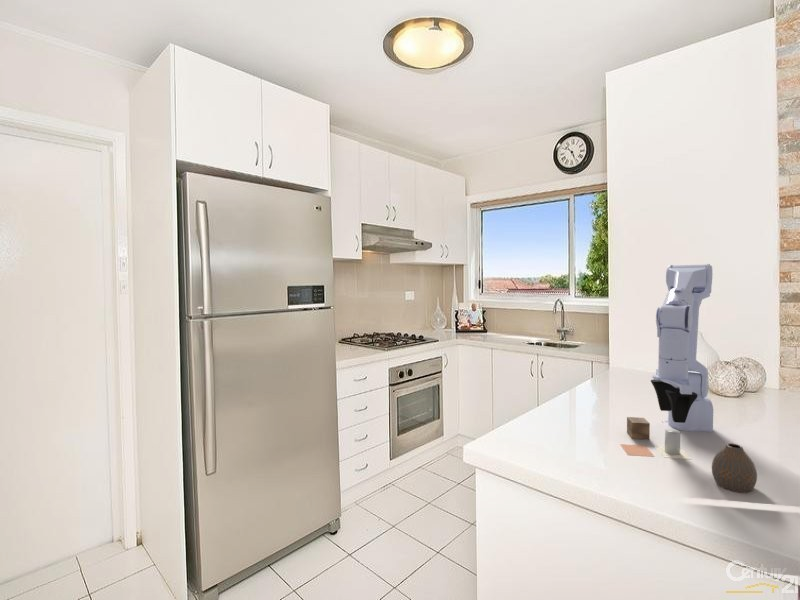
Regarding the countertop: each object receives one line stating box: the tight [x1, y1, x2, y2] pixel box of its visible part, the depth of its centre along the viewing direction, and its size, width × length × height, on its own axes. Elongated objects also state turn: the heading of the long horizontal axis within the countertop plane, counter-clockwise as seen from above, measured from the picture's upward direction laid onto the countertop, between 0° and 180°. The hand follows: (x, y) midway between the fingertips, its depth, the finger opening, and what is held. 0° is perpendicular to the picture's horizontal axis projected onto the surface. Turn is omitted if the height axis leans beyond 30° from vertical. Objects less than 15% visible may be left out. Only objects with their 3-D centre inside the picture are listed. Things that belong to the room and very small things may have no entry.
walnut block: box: [626, 416, 651, 440], centre depth 106 cm, size 4×4×5 cm
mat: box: [619, 443, 692, 460], centre depth 98 cm, size 13×8×1 cm, turn 77°
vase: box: [711, 443, 758, 494], centre depth 82 cm, size 7×7×9 cm
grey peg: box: [664, 428, 682, 455], centre depth 96 cm, size 3×3×5 cm
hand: (672, 416), depth 96 cm, fingers open, 7 cm apart
